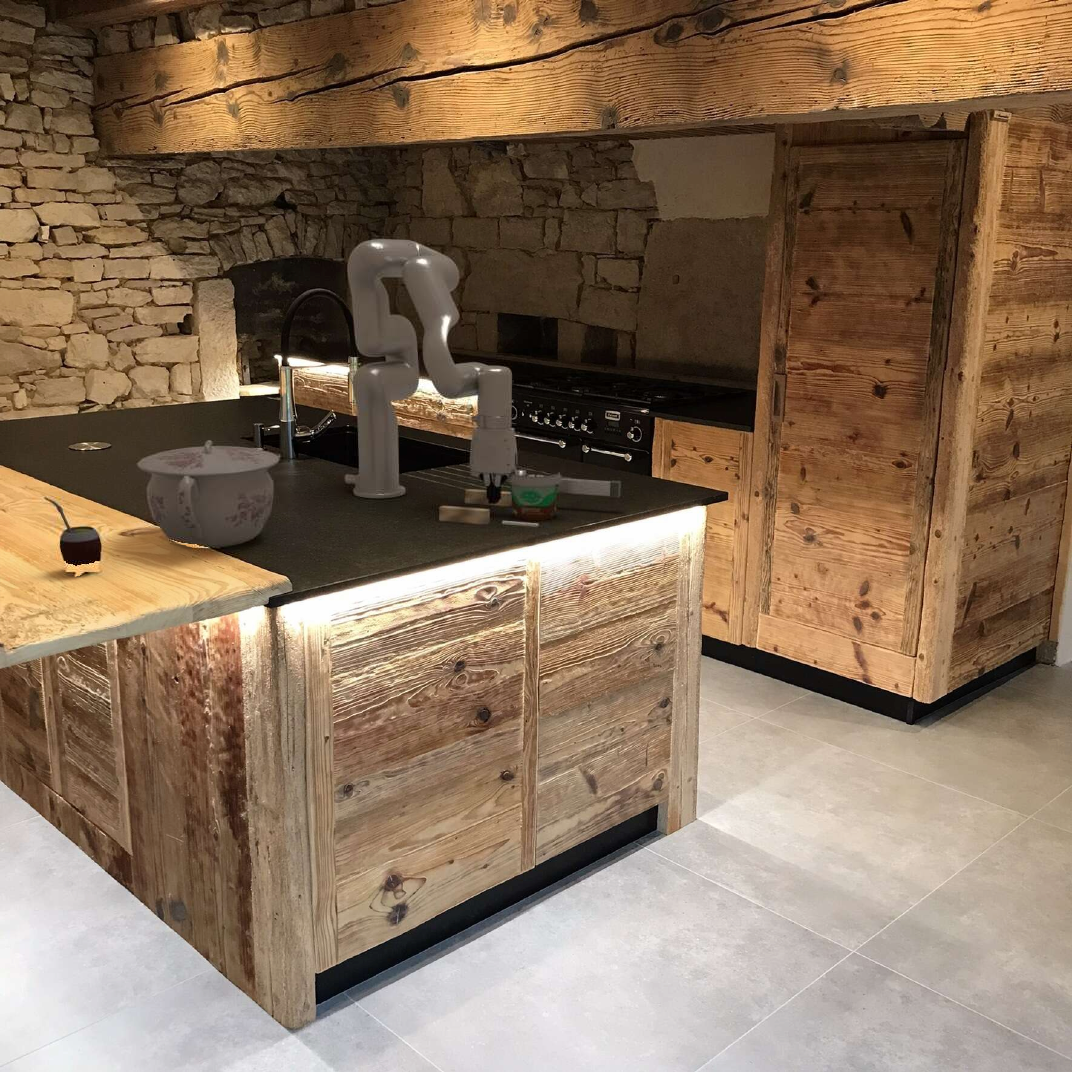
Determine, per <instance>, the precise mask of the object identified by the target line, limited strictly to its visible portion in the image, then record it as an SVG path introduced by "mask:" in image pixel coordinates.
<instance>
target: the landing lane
mask: <svg viewBox="0 0 1072 1072" xmlns="http://www.w3.org/2000/svg"><path fill="white" fill-rule="evenodd" d="M556 510H557V507H555V511H556ZM501 524H502V525H507V526H510V525H511V526H521V527H533V528H538V527H539V525H540V524H539V523H538V522H537V523H536V522H533V523H532V522H524V521H512V520H511V521H509V520H502V522H501Z"/></svg>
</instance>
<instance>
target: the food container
mask: <svg viewBox="0 0 1072 1072" xmlns="http://www.w3.org/2000/svg"><path fill="white" fill-rule="evenodd" d="M561 478H562V476H561V473H560V471H559V472H558V473H557V474H554V475H544V474H539V473H537V474H536V473H530V474H526V475H522V476H519V475H515V474H512V473H510V475H509V476H508V480H506V481H507V483H509V484H510V485H509V486H510V492H511V496H512V505H511V506H512V515H513V517H514V518H517V519H521V520H527V521H542V520H543V521H544V520H549V519H552V518H554V517H555V513H556V510H555V507H556V505H557V498H558V492H557V491H558V484H559V483H561V482H562V480H561ZM556 508H557V507H556Z"/></svg>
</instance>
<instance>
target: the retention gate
mask: <svg viewBox="0 0 1072 1072" xmlns="http://www.w3.org/2000/svg"><path fill="white" fill-rule="evenodd" d="M516 471H517V475H519V476H522V475H527V470H525V469H516ZM561 480H562V482H561V483H559V484H558V491H557V493H562V494H563V493H564V494H575V495H577V494H578V495H588V496H589V495H590V496H602V497H609V498H614V499H615V498H617V499H618V498H619V497H621V489H622V488H621V487H622V486H621V485H622V484H621V483H622V481H621V480H597V479H596V480H593V479H582V478H581V479H579V478H568V477H567V478H566V477H564V478H563V477H561Z"/></svg>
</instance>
